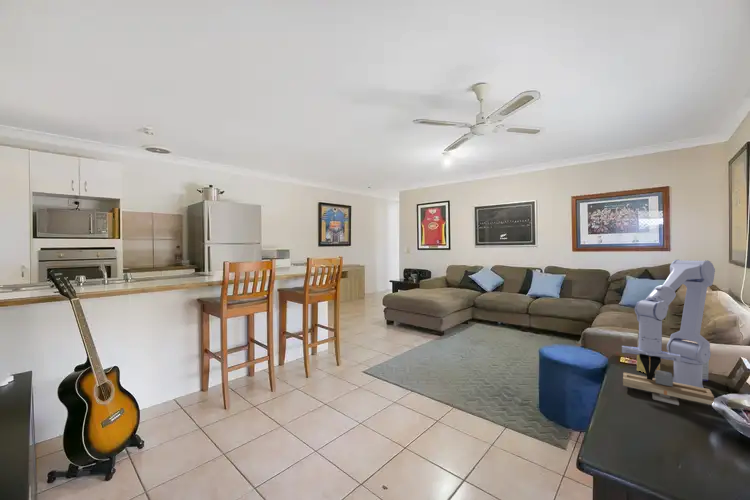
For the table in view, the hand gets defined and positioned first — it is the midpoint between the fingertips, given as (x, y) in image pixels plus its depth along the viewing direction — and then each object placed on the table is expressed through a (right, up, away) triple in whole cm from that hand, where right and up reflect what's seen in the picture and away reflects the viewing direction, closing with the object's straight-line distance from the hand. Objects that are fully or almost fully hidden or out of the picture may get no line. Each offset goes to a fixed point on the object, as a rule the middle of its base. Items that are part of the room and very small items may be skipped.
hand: (649, 378), depth 105 cm
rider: (+3, -2, -2) cm, 4 cm away
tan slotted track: (+3, -5, -2) cm, 6 cm away
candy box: (+17, -6, +21) cm, 28 cm away
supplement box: (+29, -6, +15) cm, 33 cm away
